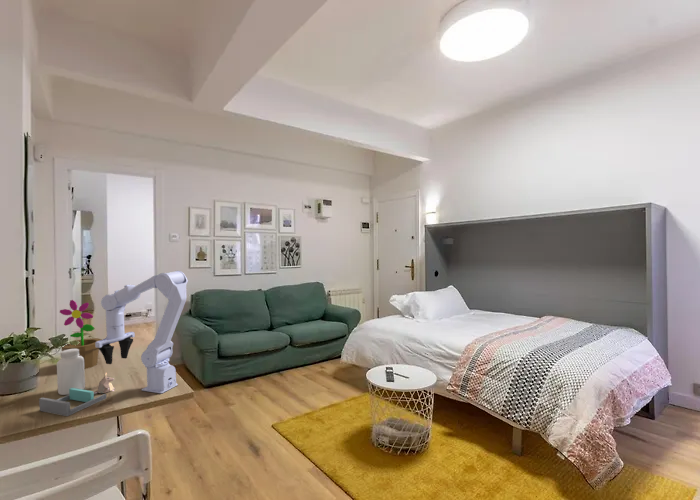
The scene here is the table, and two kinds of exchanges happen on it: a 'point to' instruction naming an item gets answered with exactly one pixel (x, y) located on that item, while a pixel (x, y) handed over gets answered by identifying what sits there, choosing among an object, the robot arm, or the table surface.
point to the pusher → (81, 395)
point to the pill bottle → (70, 371)
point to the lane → (64, 405)
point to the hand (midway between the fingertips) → (116, 360)
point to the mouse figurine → (105, 385)
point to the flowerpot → (85, 345)
